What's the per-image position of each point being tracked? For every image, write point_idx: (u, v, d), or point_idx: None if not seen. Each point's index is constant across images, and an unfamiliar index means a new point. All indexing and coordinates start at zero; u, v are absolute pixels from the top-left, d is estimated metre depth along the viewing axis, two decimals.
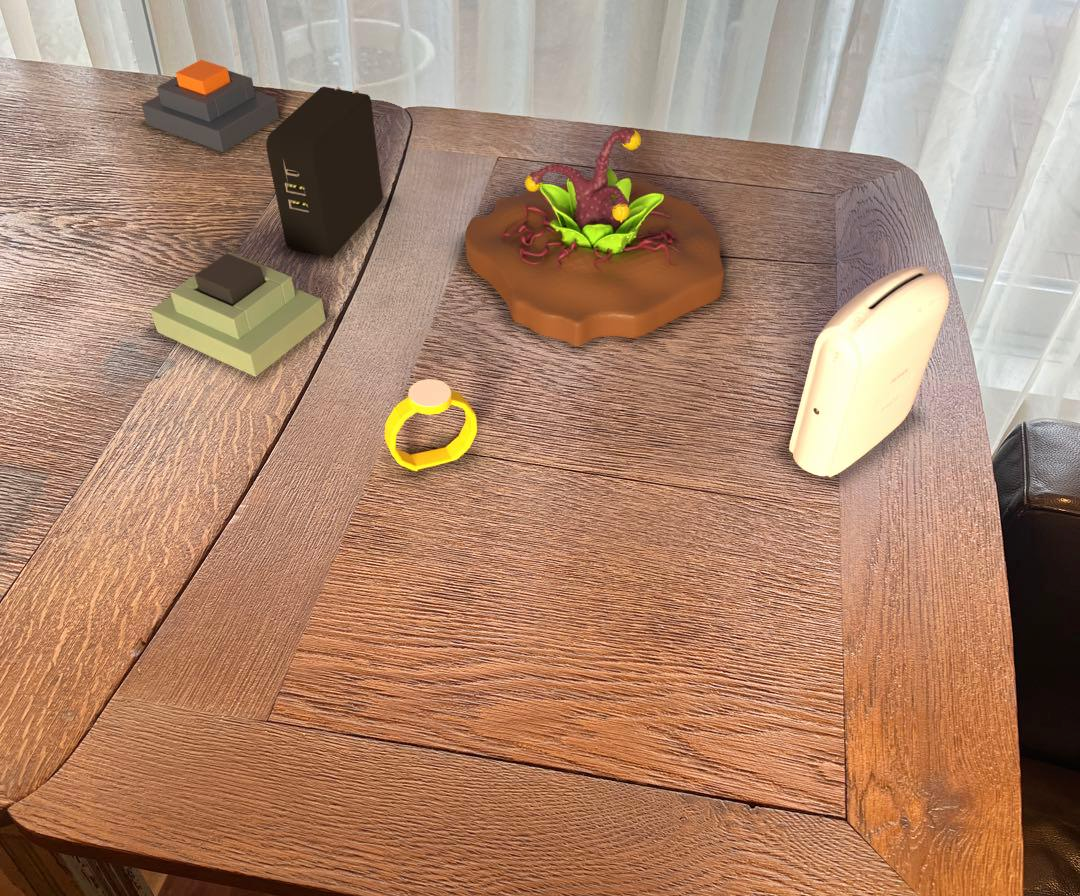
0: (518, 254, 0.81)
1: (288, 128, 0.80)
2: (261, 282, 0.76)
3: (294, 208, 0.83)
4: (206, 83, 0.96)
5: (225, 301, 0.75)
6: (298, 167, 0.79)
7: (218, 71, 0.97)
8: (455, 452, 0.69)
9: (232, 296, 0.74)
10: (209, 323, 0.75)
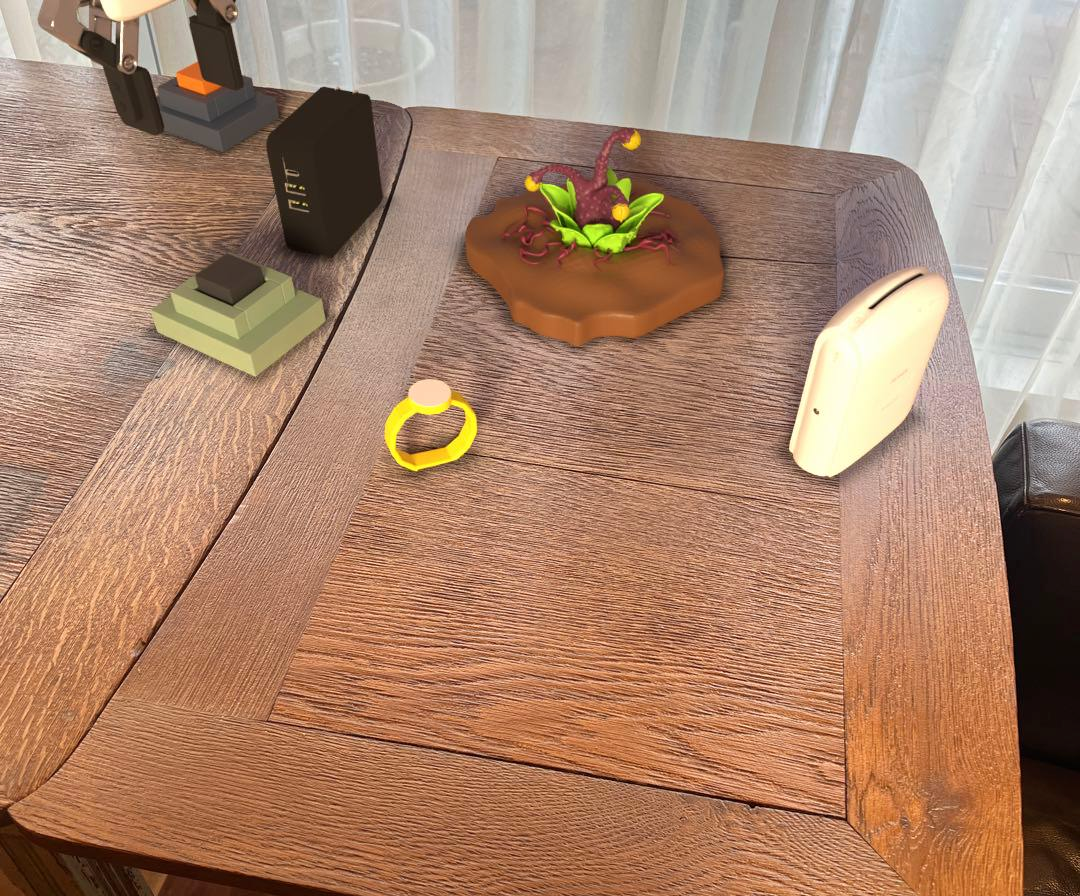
0: (518, 254, 0.81)
1: (288, 128, 0.80)
2: (261, 282, 0.76)
3: (294, 208, 0.83)
4: (206, 83, 0.96)
5: (225, 301, 0.75)
6: (298, 167, 0.79)
7: None
8: (455, 452, 0.69)
9: (232, 296, 0.74)
10: (209, 323, 0.75)
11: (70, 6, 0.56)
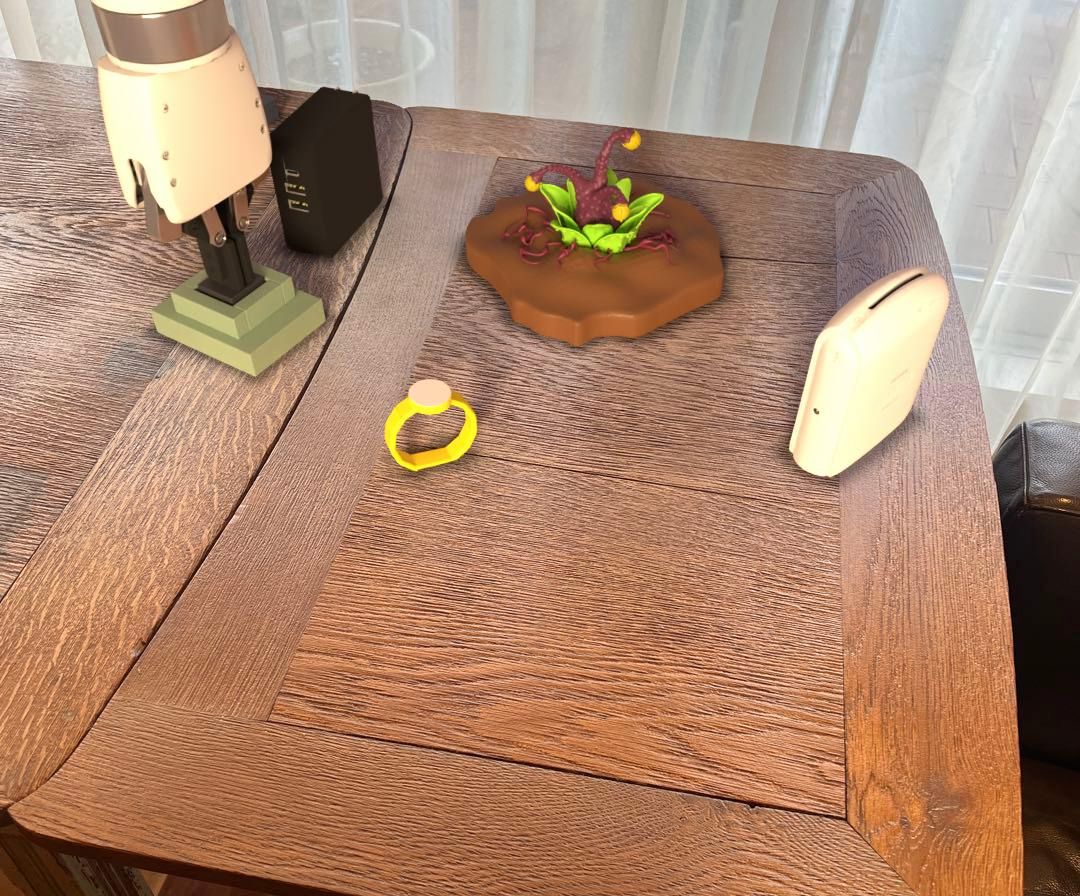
0: (518, 254, 0.81)
1: (288, 128, 0.80)
2: None
3: (294, 208, 0.83)
4: None
5: None
6: (298, 167, 0.79)
7: None
8: (455, 452, 0.69)
9: None
10: (209, 323, 0.75)
11: (166, 217, 0.68)
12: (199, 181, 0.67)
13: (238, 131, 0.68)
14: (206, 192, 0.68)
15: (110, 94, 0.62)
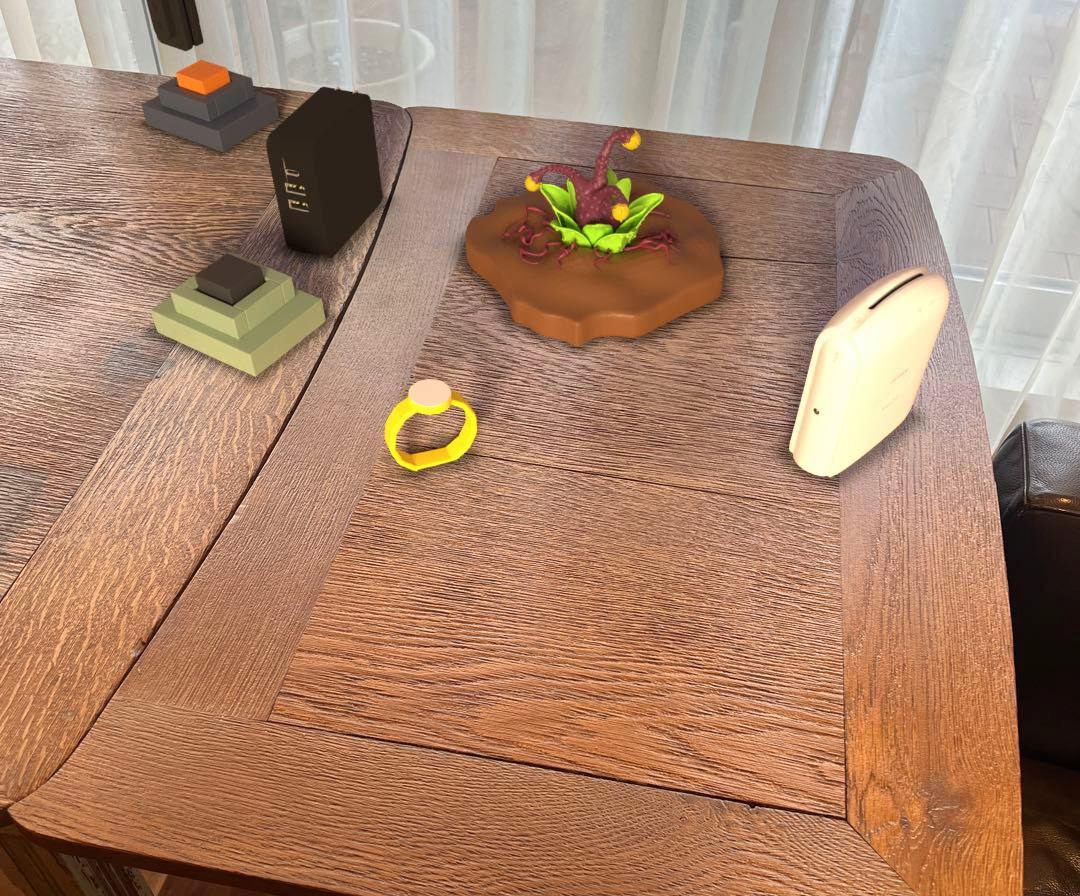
0: (518, 254, 0.81)
1: (288, 128, 0.80)
2: (261, 282, 0.76)
3: (294, 208, 0.83)
4: (206, 83, 0.96)
5: (225, 301, 0.75)
6: (298, 167, 0.79)
7: (218, 71, 0.97)
8: (455, 452, 0.69)
9: (232, 296, 0.74)
10: (209, 323, 0.75)
11: None
12: None
13: None
14: None
15: None
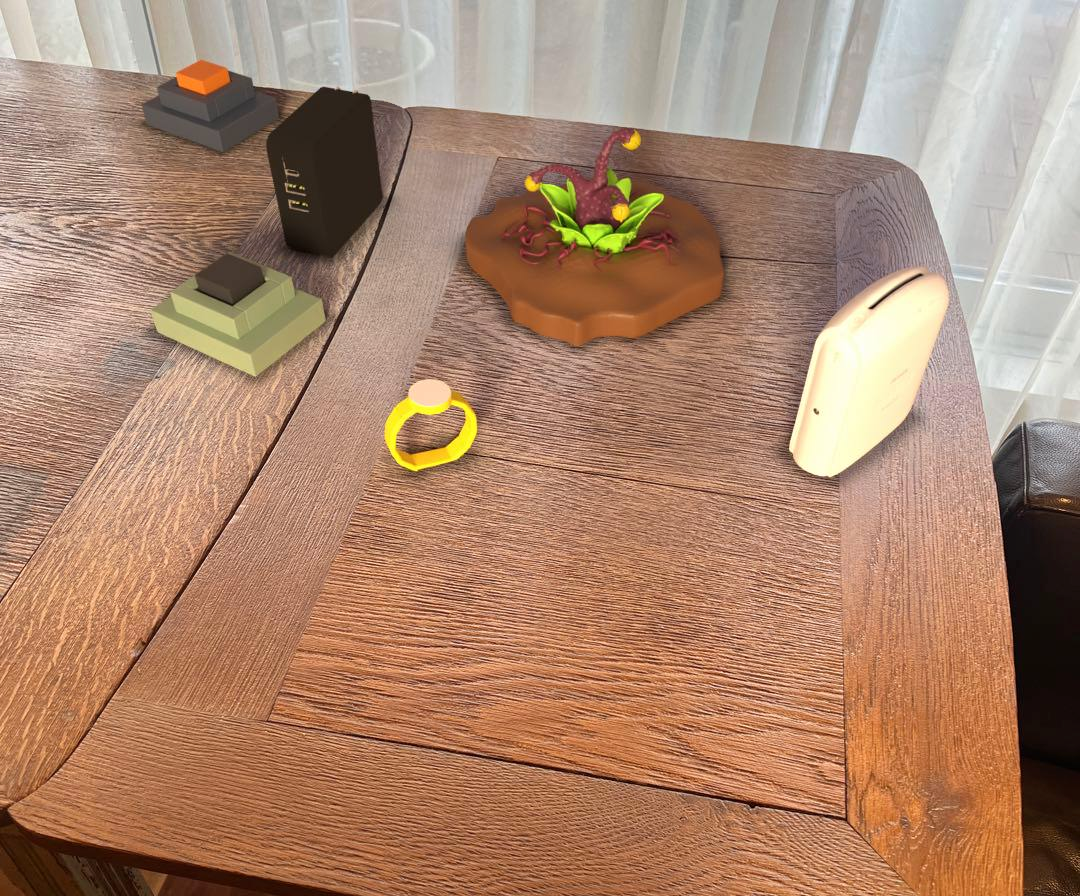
0: (518, 254, 0.81)
1: (288, 128, 0.80)
2: (261, 282, 0.76)
3: (294, 208, 0.83)
4: (206, 83, 0.96)
5: (225, 301, 0.75)
6: (298, 167, 0.79)
7: (218, 71, 0.97)
8: (455, 452, 0.69)
9: (232, 296, 0.74)
10: (209, 323, 0.75)
11: None
12: None
13: None
14: None
15: None
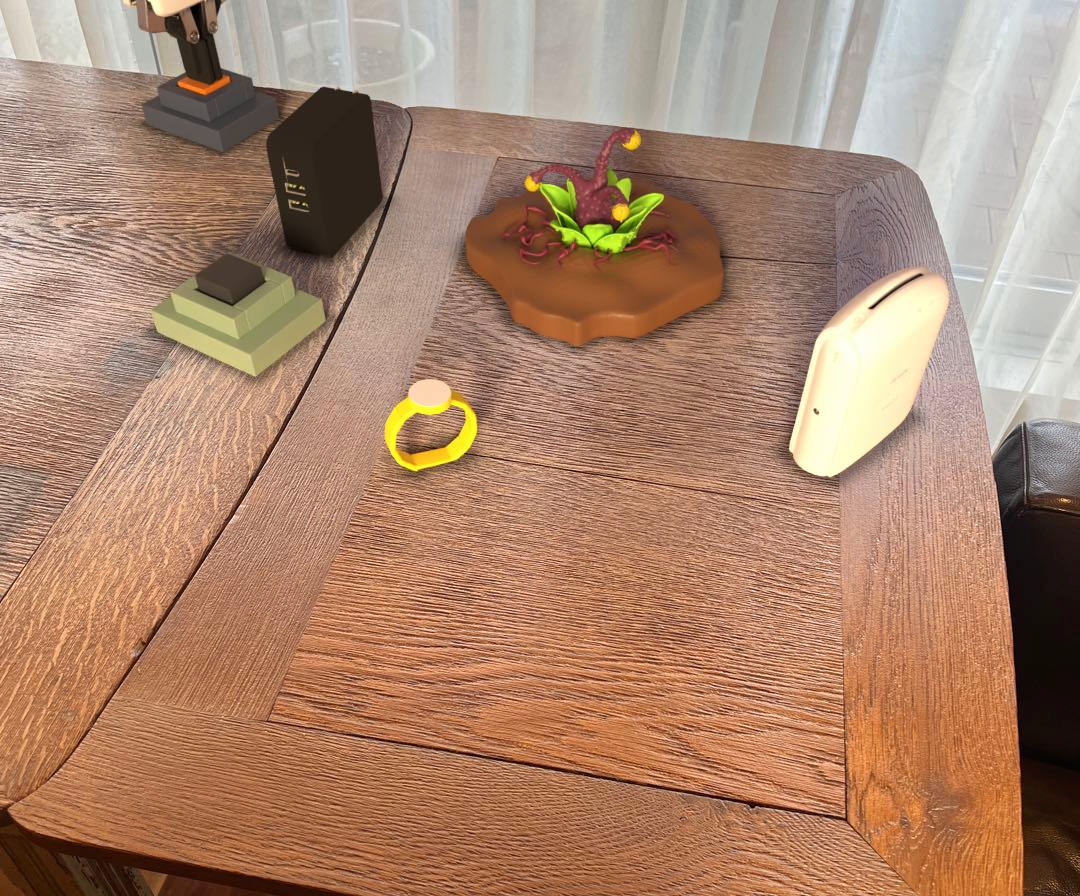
0: (518, 254, 0.81)
1: (288, 128, 0.80)
2: (261, 282, 0.76)
3: (294, 208, 0.83)
4: (208, 92, 0.97)
5: (225, 301, 0.75)
6: (298, 167, 0.79)
7: (220, 80, 0.97)
8: (455, 452, 0.69)
9: (232, 296, 0.74)
10: (209, 323, 0.75)
11: (153, 12, 0.89)
12: None
13: None
14: None
15: None
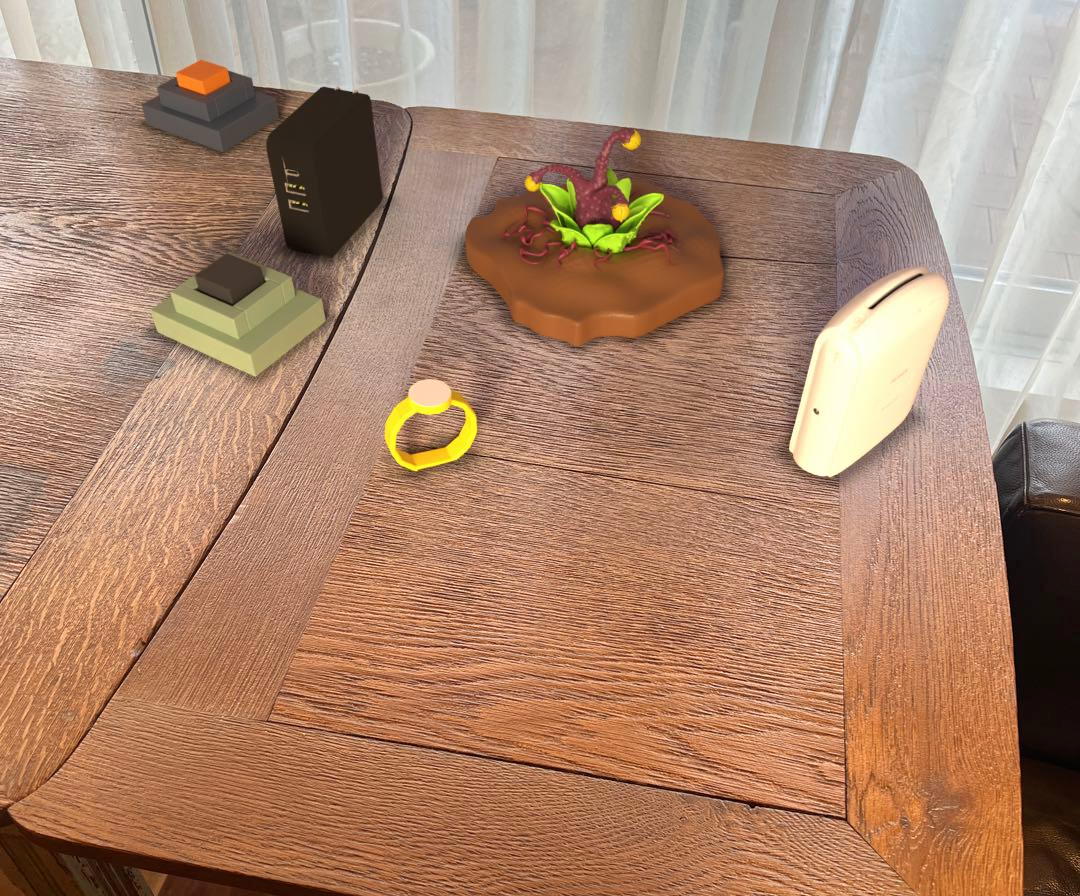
0: (518, 254, 0.81)
1: (288, 128, 0.80)
2: (261, 282, 0.76)
3: (294, 208, 0.83)
4: (206, 83, 0.96)
5: (225, 301, 0.75)
6: (298, 167, 0.79)
7: (218, 71, 0.97)
8: (455, 452, 0.69)
9: (232, 296, 0.74)
10: (209, 323, 0.75)
11: None
12: None
13: None
14: None
15: None
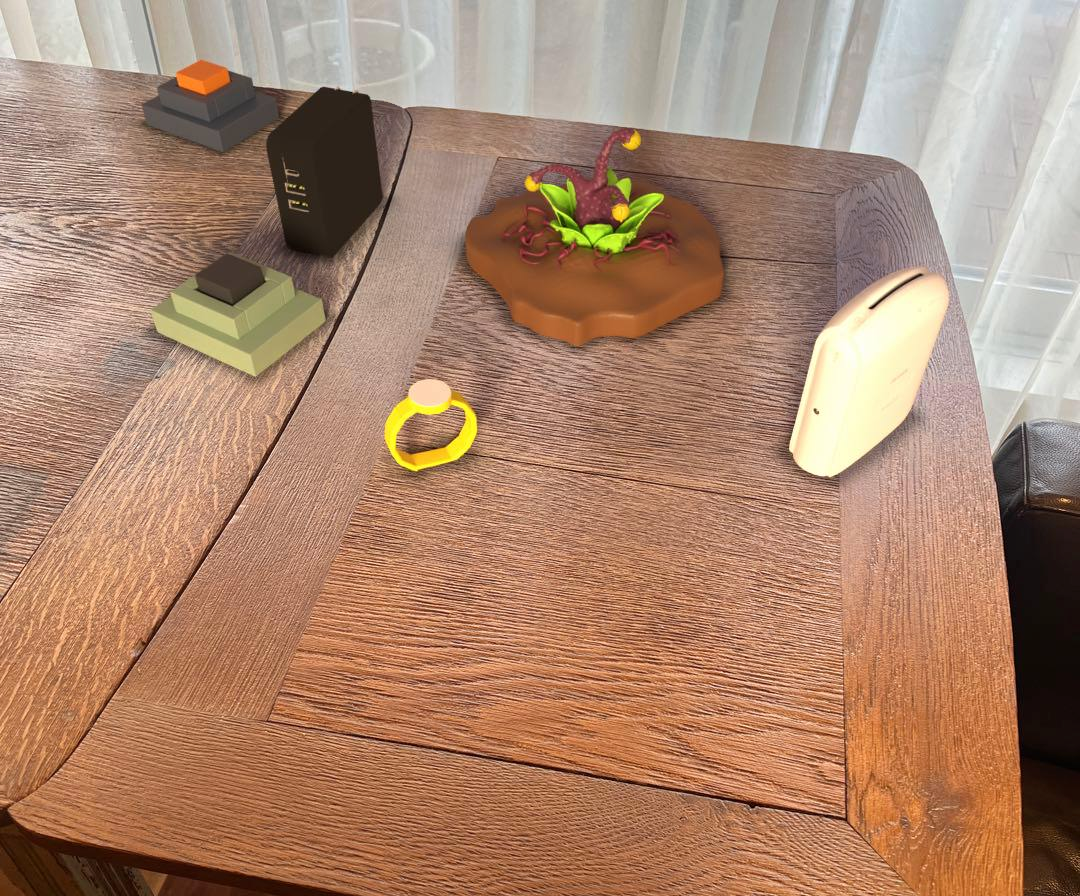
0: (518, 254, 0.81)
1: (288, 128, 0.80)
2: (261, 282, 0.76)
3: (294, 208, 0.83)
4: (206, 83, 0.96)
5: (225, 301, 0.75)
6: (298, 167, 0.79)
7: (218, 71, 0.97)
8: (455, 452, 0.69)
9: (232, 296, 0.74)
10: (209, 323, 0.75)
11: None
12: None
13: None
14: None
15: None
